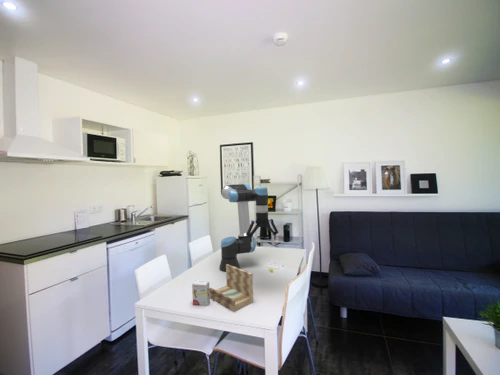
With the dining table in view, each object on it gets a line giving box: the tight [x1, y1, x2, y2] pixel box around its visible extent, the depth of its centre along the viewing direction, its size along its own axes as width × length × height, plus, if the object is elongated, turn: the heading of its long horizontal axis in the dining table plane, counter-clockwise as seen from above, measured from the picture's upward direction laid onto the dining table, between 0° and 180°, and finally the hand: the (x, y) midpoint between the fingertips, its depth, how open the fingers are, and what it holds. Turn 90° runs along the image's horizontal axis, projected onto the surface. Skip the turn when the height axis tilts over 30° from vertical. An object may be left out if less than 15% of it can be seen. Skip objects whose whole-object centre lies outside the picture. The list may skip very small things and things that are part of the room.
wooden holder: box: [209, 264, 254, 312], centre depth 141 cm, size 22×14×16 cm, turn 43°
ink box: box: [191, 279, 211, 306], centre depth 138 cm, size 9×5×12 cm, turn 79°
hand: (262, 246), depth 154 cm, fingers open, 13 cm apart
